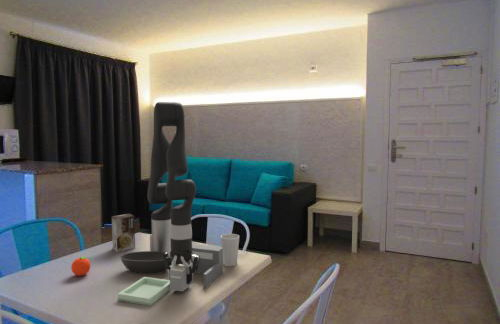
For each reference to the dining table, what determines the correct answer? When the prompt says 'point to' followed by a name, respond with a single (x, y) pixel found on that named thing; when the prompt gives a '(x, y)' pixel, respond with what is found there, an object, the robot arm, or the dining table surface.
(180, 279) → the white block
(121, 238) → the coffee box
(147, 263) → the bowl
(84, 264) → the clementine
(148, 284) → the tray
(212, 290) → the dining table surface
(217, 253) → the bay
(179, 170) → the robot arm
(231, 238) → the cup
